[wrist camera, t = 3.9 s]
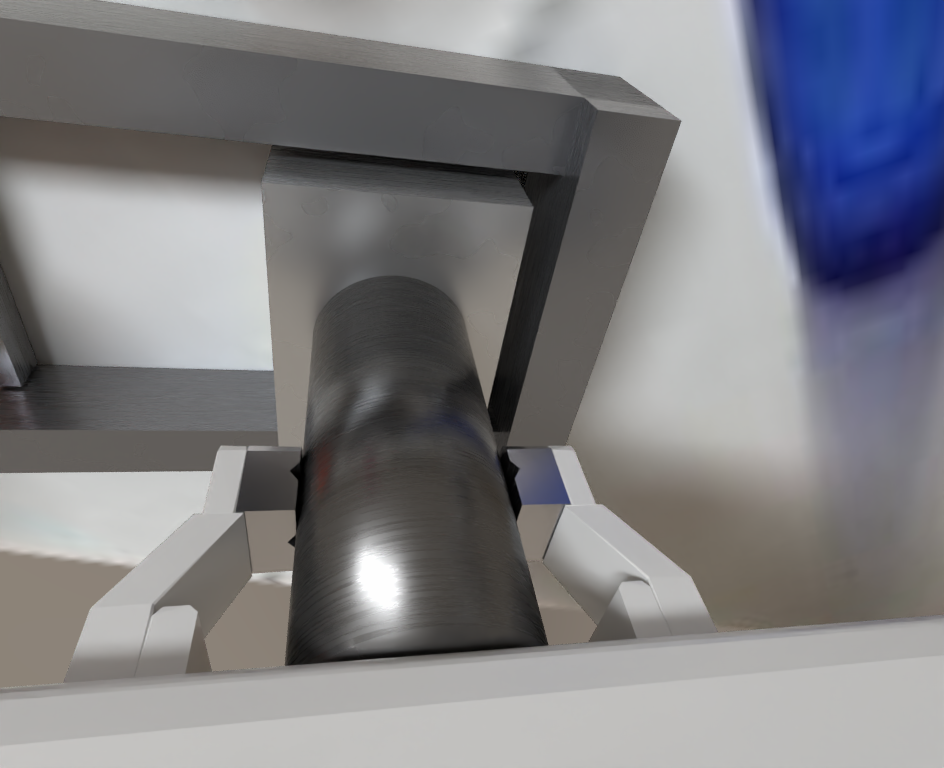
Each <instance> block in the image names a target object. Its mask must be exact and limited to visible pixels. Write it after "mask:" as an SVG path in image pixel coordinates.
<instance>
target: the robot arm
mask: <svg viewBox="0 0 944 768" xmlns="http://www.w3.org/2000/svg"><path fill="white" fill-rule="evenodd" d="M499 457H500V461H501V464H502V468H503V472H504V476H505V480H506V484H507V488H508V491H509V495H510V499H511V503H512V507H513V511H514V515H515V518H516V522H517V526H518V530H519V534H520V538H521V541H522V545H523V549H524V553H525V557H526V561H543V564H544V565H545V566H546V567H547V568H548V569H549V570H550V572H551V573H552V574H553V575H554V576H555V577H556V579H557V580H558V581H559V582H560V583H561V584H562V585H563V587H564V588H565V589H566V590H567V591H568V592H569V593H570V595H571V596H572V597H573V598H574V599H575V600H576V602H577V603H578V604H579V605H580V606H581V607H582V608H583V610H584V611H585V612H586V613H587V614H588V615H589V616H590V618H591V619H592V620H593V621H594V622H595V623H596V624H597V628H596V629H595V631H594V633H593V634H592V636H591V638H590V640H589V642H586V643H573V644H561V645H548V646H535V647H522V648H509V649H496V650H484V651H471V652H458V653H445V654H432V655H419V656H407V657H394V658H381V659H368V660H355V661H343V662H330V663H317V664H304V665H291V666H279V667H265V668H254V669H253V668H252V669H240V670H227V671H214V672H212V669H211V665H210V661H209V656H208V652H207V648H206V644H205V640H204V638H205V637H206V636H207V634H208V633H209V632H210V630H211V629H212V628H213V627H214V625H215V624H216V623H217V621H218V620H219V619H220V617H221V616H222V615H223V613H224V612H225V611H226V609H227V608H228V607H229V606H230V604H231V603H232V602H233V600H234V599H235V598H236V596H237V595H238V593H240V591H241V590H242V589H243V587H244V586H245V585H246V583H247V582H248V581H249V579H250V578H251V577H252V573H266V572H280V571H293V563H294V551H295V540H296V531H297V520H298V509H299V493H300V484H301V474H302V461H303V454H302V447H287V446H222V445H221V446H220V448H219V450H218V451H217V455H216V459H215V463H214V467H213V471H212V476H211V480H210V484H209V488H208V492H207V496H206V501H205V505H204V509H203V513H201V514H193V515H192V516H191V517H190V518H189V519H188V520H187V521H186V522H184V523H183V524H182V525H181V526H180V527H179V528H178V529H177V530H176V531H175V532H174V533H172V534H171V535H170V536H169V537H168V538H167V539H166V540H165V541H164V542H163V543H161V544H160V545H159V546H158V547H157V548H156V549H155V550H154V551H153V552H152V553H150V554H149V555H148V556H147V557H146V558H145V559H144V560H143V561H142V562H141V563H140V564H138V565H137V566H136V567H135V568H134V569H133V570H132V571H131V572H130V573H129V574H127V575H126V576H125V577H124V578H123V579H122V580H121V581H120V582H119V583H118V584H116V585H115V586H114V587H113V588H112V589H111V590H110V591H109V592H108V593H107V594H106V595H104V596H103V597H102V598H101V599H100V600H99V601H98V602H97V603H96V604H95V605H93V607H91V609H90V611H89V614H88V617H87V619H86V622H85V625H84V628H83V630H82V633H81V636H80V638H79V641H78V644H77V647H76V649H75V652H74V655H73V657H72V660H71V663H70V666H69V668H68V671H67V674H66V677H65V679H64V682H63V683H58V684H45V685H32V686H19V687H6V688H0V768H944V615H933V616H920V617H908V618H895V619H882V620H869V621H857V622H844V623H831V624H818V625H805V626H792V627H779V628H766V629H754V630H741V631H728V632H718V631H717V629H716V627H715V625H714V623H713V621H712V619H711V616H710V614H709V612H708V610H707V608H706V606H705V604H704V602H703V600H702V598H701V596H700V594H699V592H698V590H697V588H696V586H695V584H694V582H693V580H692V578H691V576H690V575H688V574H687V573H686V572H685V571H683V570H682V569H681V568H680V567H679V566H677V565H676V564H675V563H674V562H672V561H671V560H670V559H669V558H668V557H666V556H665V555H664V554H663V553H662V552H660V551H659V550H658V549H657V548H655V547H654V546H653V545H652V544H651V543H649V542H648V541H647V540H646V539H644V538H643V537H642V536H641V535H640V534H638V533H637V532H636V531H635V530H633V529H632V528H631V527H630V526H629V525H627V524H626V523H625V522H624V521H623V520H621V519H620V518H619V517H618V516H616V515H615V514H614V513H613V512H612V511H610V510H609V509H608V508H607V507H605V506H604V505H603V504H596V502H595V500H594V497H593V495H592V492H591V490H590V487H589V485H588V482H587V480H586V477H585V475H584V472H583V470H582V468H581V465H580V463H579V460H578V458H577V455H576V453H575V450H574V449H573V448H572V447H571V446H503V447H502V448H501V450H500V453H499Z"/></svg>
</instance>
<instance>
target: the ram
mask: <svg viewBox="0 0 944 768" xmlns="http://www.w3.org/2000/svg"><path fill="white" fill-rule="evenodd" d="M261 187H262V202H263V217H264V232H265V247H266V262H267V277H268V293H269V308H270V323H271V338H272V353H273V368H274V383H275V398H276V413H277V428H278V443H279V446H287V447H302V450H303V461H302V474H301V484H300V493H299V509H298V520H297V531H296V540H295V551H294V563H293V575H292V587H291V599H290V611H289V622H288V634H287V646H286V657H285V666H291V665H304V664H317V663H330V662H343V661H355V660H368V659H381V658H394V657H407V656H419V655H432V654H445V653H458V652H471V651H484V650H496V649H509V648H522V647H535V646H548V642H547V638H546V634H545V630H544V626H543V623H542V619H541V615H540V611H539V607H538V603H537V599H536V595H535V592H534V588H533V584H532V580H531V576H530V572H529V568H528V565H527V561H526V557H525V553H524V549H523V545H522V541H521V538H520V534H519V530H518V526H517V522H516V518H515V515H514V511H513V507H512V503H511V499H510V495H509V491H508V488H507V484H506V480H505V476H504V472H503V468H502V464H501V461H500V457H499V453H498V449H497V445H496V441H495V437H494V434H493V430H492V426H491V422H490V418H489V414H488V410H487V408H488V403H489V399H490V395H491V390H492V386H493V382H494V377H495V373H496V369H497V364H498V360H499V356H500V351H501V347H502V342H503V338H504V334H505V329H506V325H507V321H508V316H509V312H510V308H511V303H512V299H513V295H514V290H515V286H516V282H517V277H518V273H519V269H520V264H521V260H522V256H523V251H524V247H525V243H526V238H527V234H528V230H529V225H530V221H531V217H532V212H533V208H534V207H533V205H532V204H531V202H530V200H529V198H528V197H527V195H526V193H525V191H524V189H523V188H522V186H521V184H520V182H519V181H518V179H517V177H516V175H515V174H514V172H513V170H508V169H499V168H489V167H480V166H470V165H461V164H451V163H442V162H432V161H423V160H413V159H404V158H394V157H385V156H375V155H366V154H356V153H347V152H337V151H327V150H318V149H308V148H299V147H289V146H280V145H272V148H271V152H270V155H269V158H268V162H267V165H266V168H265V172H264V175H263V178H262V181H261Z"/></svg>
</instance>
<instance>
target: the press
mask: <svg viewBox="0 0 944 768" xmlns="http://www.w3.org/2000/svg"><path fill="white" fill-rule="evenodd" d="M0 116H4V117H13V118H23V119H32V120H42V121H51V122H61V123H70V124H80V125H89V126H99V127H108V128H118V129H128V130H137V131H147V132H156V133H166V134H175V135H185V136H194V137H204V138H213V139H223V140H232V141H242V142H251V143H261V144H270V145H280V146H289V147H299V148H308V149H318V150H327V151H337V152H347V153H356V154H366V155H375V156H385V157H394V158H404V159H413V160H423V161H432V162H442V163H451V164H461V165H470V166H480V167H489V168H499V169H508V170H518V171H527V172H528V174H527V178H526V183H525V188H524V191H525V193H526V195H527V197H528V198H529V200H530V202H531V204H532V205H533V207H534V208H533V212H532V217H531V221H530V225H529V230H528V234H527V238H526V243H525V247H524V251H523V256H522V260H521V264H520V269H519V273H518V277H517V282H516V286H515V290H514V295H513V299H512V303H511V308H510V312H509V316H508V321H507V325H506V329H505V334H504V338H503V342H502V347H501V351H500V356H499V360H498V364H497V369H496V373H495V377H494V382H493V386H492V390H491V395H490V399H489V403H488V408H487V410H488V414H489V418H490V422H491V426H492V430H493V434H494V437H495V441H496V445H497V449H498V453H500V450H501V448H502V447H503V446H565V444H566V442H567V439H568V436H569V433H570V431H571V428H572V425H573V422H574V419H575V417H576V414H577V411H578V408H579V405H580V403H581V400H582V397H583V394H584V391H585V389H586V386H587V383H588V380H589V377H590V375H591V372H592V369H593V366H594V364H595V361H596V358H597V355H598V352H599V350H600V347H601V344H602V341H603V338H604V336H605V333H606V330H607V327H608V324H609V322H610V319H611V316H612V313H613V310H614V308H615V305H616V302H617V299H618V297H619V294H620V291H621V288H622V285H623V283H624V280H625V277H626V274H627V271H628V269H629V266H630V263H631V260H632V257H633V255H634V252H635V249H636V246H637V243H638V241H639V238H640V235H641V232H642V230H643V227H644V224H645V221H646V218H647V216H648V213H649V210H650V207H651V204H652V202H653V199H654V196H655V193H656V190H657V188H658V185H659V182H660V179H661V176H662V174H663V171H664V168H665V165H666V163H667V160H668V157H669V154H670V151H671V149H672V146H673V143H674V140H675V137H676V135H677V132H678V129H679V126H680V123H681V120H679V119H678V118H677V117H675V116H674V115H672V114H671V113H670V112H668V111H667V110H665V109H664V108H663V107H661V106H660V105H658V104H657V103H656V102H654V101H653V100H651V99H650V98H649V97H647V96H646V95H644V94H643V93H642V92H640V91H639V90H637V89H636V88H635V87H633V86H632V85H630V84H629V83H628V82H626V81H625V80H623V79H622V78H621V77H617V76H610V75H603V74H596V73H590V72H583V71H576V70H569V69H562V68H555V67H549V66H542V65H535V64H528V63H521V62H515V61H508V60H501V59H494V58H487V57H481V56H474V55H467V54H460V53H453V52H446V51H440V50H433V49H426V48H419V47H412V46H406V45H399V44H392V43H385V42H378V41H371V40H365V39H358V38H351V37H344V36H337V35H331V34H324V33H317V32H310V31H303V30H297V29H290V28H283V27H276V26H269V25H262V24H256V23H249V22H242V21H235V20H228V19H222V18H215V17H208V16H201V15H194V14H188V13H181V12H174V11H167V10H160V9H153V8H147V7H140V6H133V5H126V4H119V3H113V2H106V1H99V0H0ZM36 364H37V361H36V358H35V355H34V353H33V350H32V347H31V345H30V342H29V339H28V337H27V334H26V332H25V329H24V326H23V324H22V321H21V318H20V316H19V313H18V310H17V308H16V305H15V302H14V300H13V297H12V294H11V292H10V289H9V287H8V284H7V281H6V279H5V276H4V273H3V271H2V268H1V265H0V473H44V472H150V471H213V467H214V463H215V459H216V455H217V451H218V450H219V448H220V446H221V445H222V446H279V443H278V428H277V413H276V398H275V383H274V371H248V370H208V369H169V368H130V367H91V366H51V365H36ZM302 454H303V450H302Z"/></svg>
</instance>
